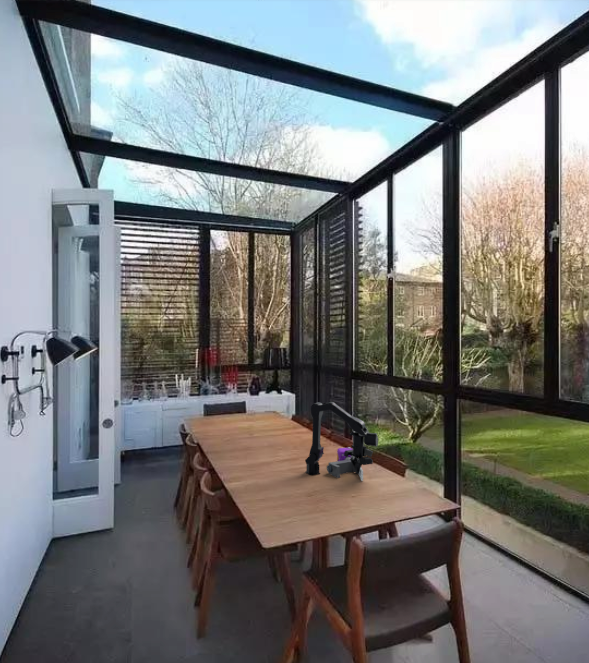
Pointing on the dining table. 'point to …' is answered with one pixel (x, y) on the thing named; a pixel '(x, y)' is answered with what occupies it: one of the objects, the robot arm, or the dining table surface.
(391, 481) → the dining table surface
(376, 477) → the dining table surface
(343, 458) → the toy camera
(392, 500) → the dining table surface
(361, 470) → the side door
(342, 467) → the grey hollow rectangular block
